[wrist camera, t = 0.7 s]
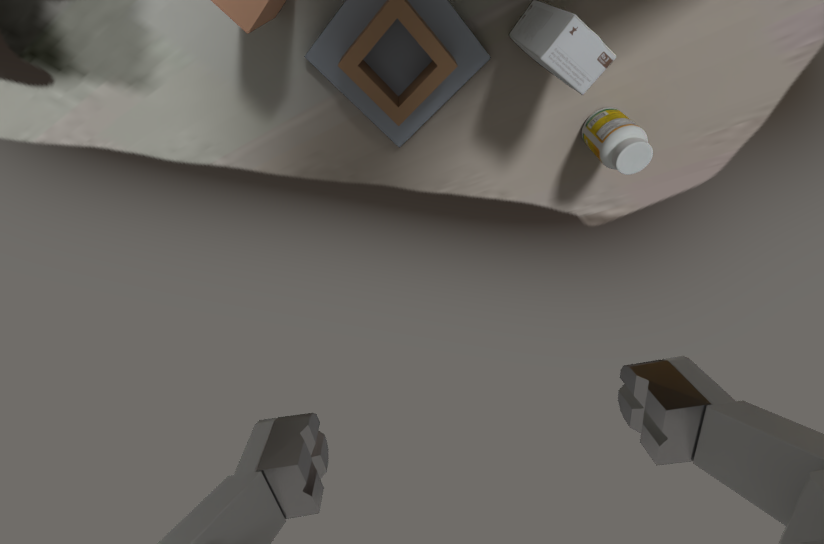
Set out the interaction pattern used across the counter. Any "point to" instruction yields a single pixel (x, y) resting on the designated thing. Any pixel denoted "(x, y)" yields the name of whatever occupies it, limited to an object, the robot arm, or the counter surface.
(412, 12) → the collar socket
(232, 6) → the terracotta peg
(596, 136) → the supplement bottle
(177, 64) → the counter surface
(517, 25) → the skincare box
